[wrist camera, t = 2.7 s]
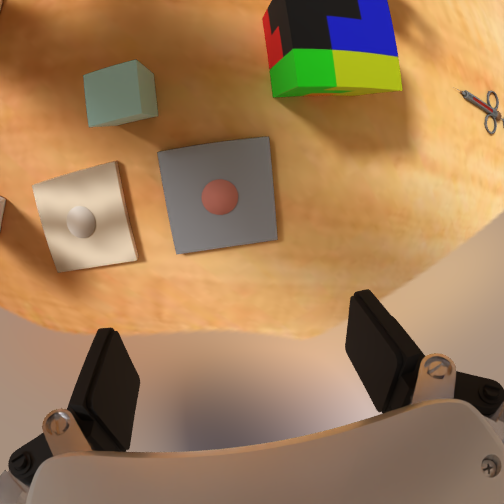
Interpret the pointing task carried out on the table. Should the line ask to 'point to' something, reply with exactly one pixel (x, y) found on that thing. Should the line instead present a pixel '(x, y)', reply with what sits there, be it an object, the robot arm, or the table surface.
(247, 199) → the slate mat
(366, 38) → the puzzle toy
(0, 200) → the skincare box
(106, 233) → the birch pad
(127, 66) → the teal block
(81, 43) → the table surface
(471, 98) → the syringe
